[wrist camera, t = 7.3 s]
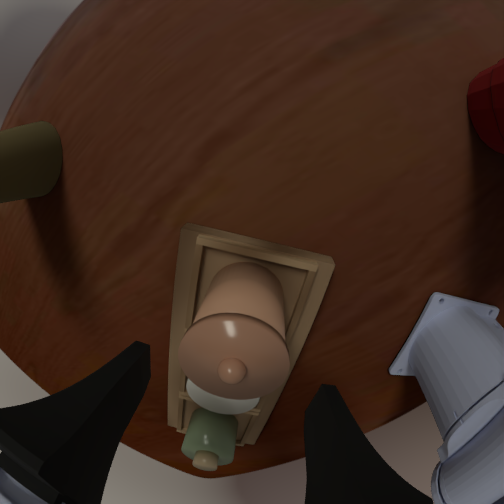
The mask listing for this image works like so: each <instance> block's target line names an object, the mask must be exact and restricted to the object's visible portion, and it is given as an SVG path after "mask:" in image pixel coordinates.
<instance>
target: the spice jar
mask: <svg viewBox="0 0 504 504" xmlns="http://www.w3.org/2000/svg"><path fill="white" fill-rule="evenodd" d="M178 360H179V364H180V366H181V368H182V370H183V372H184V374H185V375H186V376H187V377H188V378H189V379H190V380H191V381H192V382H193V383H194V384H195V385H196V386H198V387H199V388H201V389H202V390H204V391H206V392H208V393H210V394H213V395H216V396H219V397H222V398H227V399H235V400H247V399H254V398H259V397H262V396H265V395H267V394H270V393H271V392H273V391H275V390H276V389H277V388H279V387H280V386H281V385H282V384H283V382H284V381H285V380H286V378H287V376H288V373H289V367H290V360H289V350H288V346H287V344H286V342H285V318H284V295H283V288H282V285H281V283H280V281H279V279H278V278H277V277H276V275H275V274H274V273H273V272H271V271H270V270H269V269H267V268H266V267H264V266H262V265H259V264H256V263H252V262H236V263H232V264H229V265H227V266H225V267H223V268H222V269H221V270H219V271H218V272H217V273H216V275H215V276H214V277H213V279H212V281H211V283H210V285H209V288H208V290H207V292H206V294H205V297H204V299H203V301H202V304H201V306H200V308H199V310H198V313H197V315H196V317H195V320H194V322H193V324H192V325H191V326H190V327H189V328H188V329H187V331H186V332H185V334H184V336H183V338H182V341H181V343H180V346H179V349H178Z"/></svg>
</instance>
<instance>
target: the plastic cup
mask: <svg viewBox="0 0 504 504" xmlns="http://www.w3.org/2000/svg"><path fill="white" fill-rule="evenodd" d="M467 100H468V111H469V114H470V117H471V120H472V124H473V127H474V128H475V130H476V132H477V133H478V135H479V137H480V139H481V140H482V141H483V142H484V143H485V144H486V145H488V146H489V147H490V148H492V149H493V150H494V151H496V152H499V153H501V154H503V155H504V58H503V59H501V60H499V61H498V63H497V64H495V65H493V66H491V67H490V68H488V69H486V70H484V71H482V72H480V73H479V74H478V75H477V76H476V77H475V78H474V79H473V80H472V82H471V83H470V85H469V89H468V94H467Z"/></svg>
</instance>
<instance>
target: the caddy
mask: <svg viewBox="0 0 504 504" xmlns="http://www.w3.org/2000/svg"><path fill="white" fill-rule="evenodd" d="M236 262H252V263H256V264H259V265H262V266H264V267H266V268H267V269H269V270H270V271H271V272H273V273H274V274H275V275H276V277H277V278H278V279H279V281H280V283H281V285H282V288H283V295H284V318H285V342H286V344H287V346H288V350H289V360H290V367H289V373H288V376H287V378H286V380H285V381H284V382H283V384H282V385H281V386H280V387H279V388H277V389H276V390H275V391H273V392H271V393H270V394H267V395H265V396H262V397H260V399H259V402H258V404H257V405H256V406H255V407H254V408H253V409H251V410H249V411H247V412H244V413H240V414H232V415H234V416H235V417H236V418H237V420H238V430H237V437H236V444H235V445H238V446H244V444H245V443H246V444H253V445H254V444H255V442H256V440H257V438H258V436H259V435H260V433H261V431H262V429H263V427H264V425H265V423H266V422H267V420H268V418H269V416H270V414H271V412H272V410H273V408H274V406H275V404H276V402H277V400H278V398H279V396H280V394H281V392H282V390H283V388H284V386H285V384H286V382H287V380H288V378H289V375H290V373H291V371H292V369H293V367H294V365H295V363H296V360H297V358H298V356H299V354H300V351H301V349H302V347H303V345H304V342H305V340H306V338H307V335H308V333H309V331H310V328H311V326H312V324H313V321H314V319H315V316H316V314H317V311H318V309H319V306H320V304H321V301H322V299H323V296H324V294H325V291H326V289H327V286H328V283H329V281H330V278H331V275H332V272H333V270H334V267H335V263H334V261H333V259H332V257H330V256H326V255H322V254H318V253H314V252H310V251H305V250H301V249H297V248H293V247H289V246H285V245H281V244H277V243H272V242H268V241H264V240H260V239H256V238H252V237H247V236H243V235H239V234H235V233H230V232H226V231H222V230H217V229H213V228H209V227H204V226H200V225H196V224H191V223H186V224H185V225H184V226H183V227H182V228H181V233H180V241H179V249H178V257H177V266H176V275H175V284H174V295H173V306H172V319H171V333H170V350H169V373H168V425H169V426H172V427H176V428H177V432H181V433H184V434H186V432H187V428H188V425H189V421H190V418H191V415H192V412H193V411H194V410H196V409H198V408H203V407H201V406H200V405H198V404H197V403H196V402H194V401H193V400H192V399H191V397H190V396H189V394H188V392H187V389H186V384H187V381H188V377H187V376H186V375H185V374H184V372H183V370H182V368H181V366H180V364H179V360H178V349H179V346H180V343H181V341H182V338H183V336H184V334H185V332H186V331H187V329H188V328H189V327H190V326H191V325H192V324H193V322H194V320H195V317H196V315H197V313H198V310H199V308H200V306H201V304H202V301H203V299H204V297H205V294H206V292H207V290H208V288H209V285H210V283H211V281H212V279H213V277H214V276H215V275H216V273H217V272H218V271H219V270H221V269H222V268H223V267H225V266H227V265H229V264H232V263H236Z"/></svg>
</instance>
